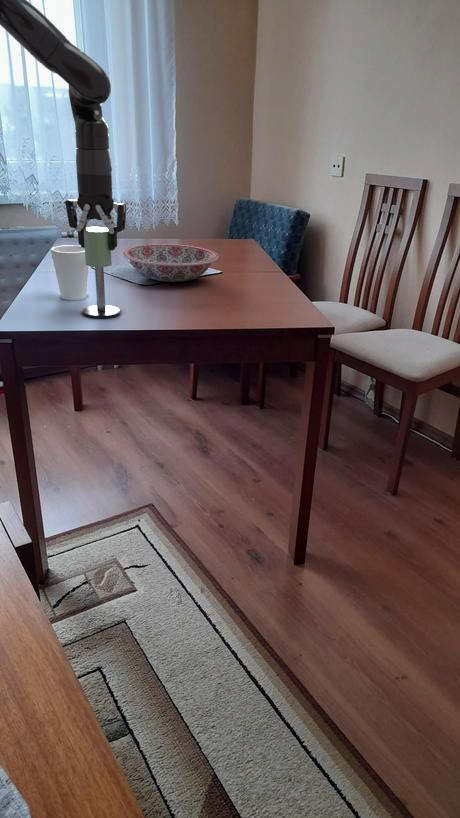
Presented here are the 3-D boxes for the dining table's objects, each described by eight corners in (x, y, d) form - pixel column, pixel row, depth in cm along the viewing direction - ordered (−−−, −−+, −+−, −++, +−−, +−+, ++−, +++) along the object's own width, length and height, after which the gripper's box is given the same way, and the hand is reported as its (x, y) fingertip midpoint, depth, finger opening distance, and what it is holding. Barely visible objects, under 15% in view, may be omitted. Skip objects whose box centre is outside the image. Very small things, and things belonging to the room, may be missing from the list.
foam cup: (79, 305, 143) (75, 254, 137) (48, 300, 146) (43, 250, 140) (98, 296, 151) (95, 247, 145) (69, 291, 154) (65, 243, 148)
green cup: (106, 268, 129) (105, 232, 125) (81, 265, 129) (79, 230, 126) (115, 262, 134) (114, 228, 130) (91, 260, 135) (89, 226, 131)
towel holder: (112, 322, 133) (108, 236, 124) (77, 318, 134) (70, 233, 125) (125, 311, 141) (122, 230, 132) (91, 307, 142) (86, 227, 133)
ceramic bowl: (227, 291, 163) (228, 264, 159) (127, 292, 156) (126, 264, 152) (206, 268, 188) (207, 244, 184) (119, 268, 181) (118, 243, 177)
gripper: (55, 170, 120) (62, 249, 128) (119, 175, 118) (122, 254, 126) (70, 168, 127) (75, 243, 134) (130, 172, 125) (132, 248, 132)
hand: (98, 248), depth 130 cm, fingers closed on green cup, 6 cm apart
